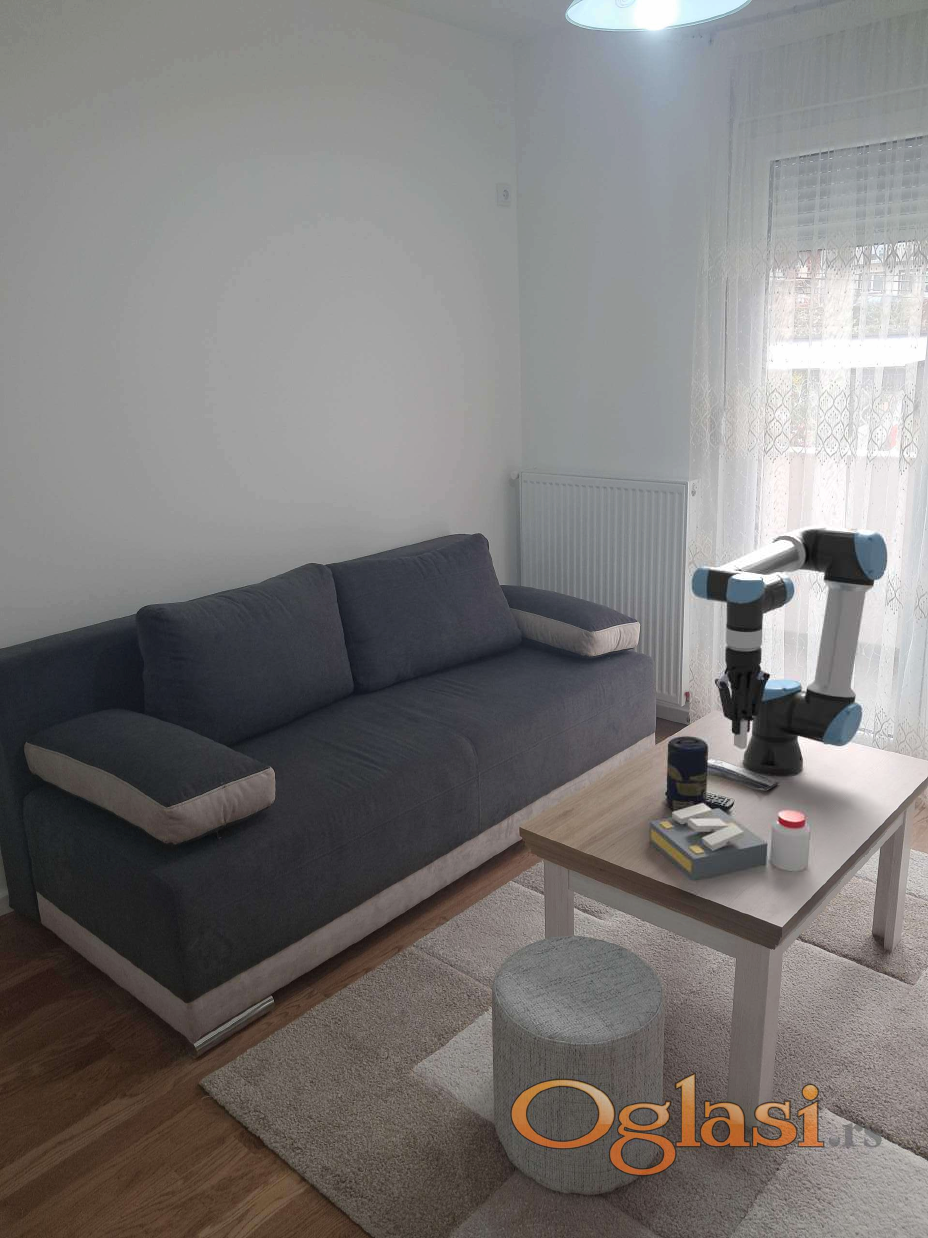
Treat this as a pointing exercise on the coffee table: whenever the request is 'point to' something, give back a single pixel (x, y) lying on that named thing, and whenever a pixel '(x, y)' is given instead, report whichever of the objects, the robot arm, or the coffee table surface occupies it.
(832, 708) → the robot arm
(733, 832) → the block
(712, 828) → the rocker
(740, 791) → the coffee table surface
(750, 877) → the coffee table surface
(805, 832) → the pill bottle
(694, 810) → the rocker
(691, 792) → the canister
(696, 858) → the switch unit
